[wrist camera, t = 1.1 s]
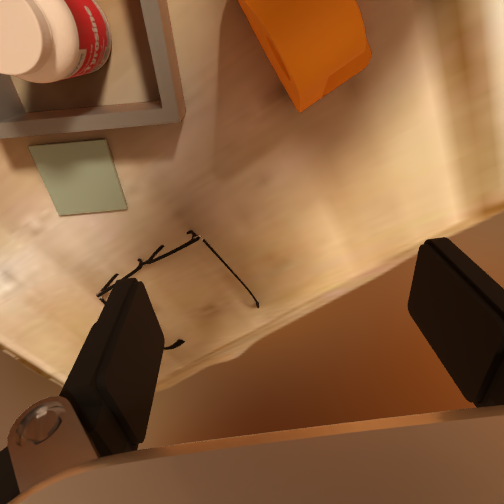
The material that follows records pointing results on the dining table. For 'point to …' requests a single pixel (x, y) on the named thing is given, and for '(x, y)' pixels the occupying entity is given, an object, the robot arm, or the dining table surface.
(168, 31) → the case
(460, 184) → the dining table surface
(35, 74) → the pill bottle
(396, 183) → the dining table surface
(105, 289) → the eyeglasses
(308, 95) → the bracket
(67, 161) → the mat
